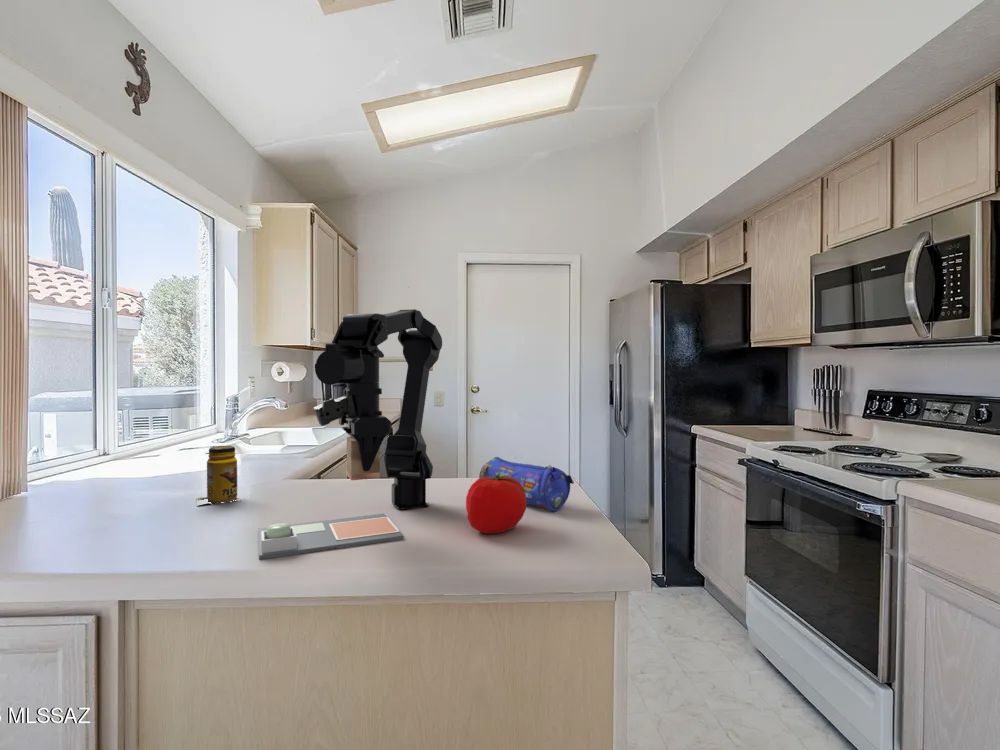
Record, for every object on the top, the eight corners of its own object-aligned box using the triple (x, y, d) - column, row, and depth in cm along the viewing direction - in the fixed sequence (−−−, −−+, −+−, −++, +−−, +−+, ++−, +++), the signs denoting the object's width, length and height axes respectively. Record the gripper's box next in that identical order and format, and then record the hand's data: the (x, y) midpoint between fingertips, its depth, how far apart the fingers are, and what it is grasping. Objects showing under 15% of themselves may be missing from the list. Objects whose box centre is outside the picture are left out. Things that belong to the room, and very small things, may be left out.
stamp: (374, 472, 99) (373, 435, 99) (379, 477, 95) (379, 439, 95) (346, 474, 97) (346, 437, 97) (351, 480, 93) (351, 440, 93)
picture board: (383, 516, 106) (383, 503, 106) (403, 538, 92) (403, 524, 92) (258, 531, 96) (258, 517, 96) (259, 559, 83) (258, 542, 83)
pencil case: (575, 508, 112) (575, 464, 112) (548, 517, 106) (549, 470, 106) (502, 490, 128) (502, 451, 128) (476, 497, 122) (476, 456, 122)
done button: (289, 533, 89) (289, 522, 89) (291, 540, 86) (291, 528, 86) (266, 536, 88) (266, 524, 88) (267, 543, 85) (267, 531, 85)
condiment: (241, 501, 117) (240, 447, 117) (197, 507, 113) (196, 451, 112) (236, 494, 123) (236, 443, 123) (195, 499, 119) (194, 446, 119)
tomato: (450, 531, 96) (450, 476, 96) (494, 516, 106) (495, 466, 106) (496, 545, 89) (497, 485, 89) (540, 527, 99) (540, 473, 99)
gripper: (311, 381, 101) (311, 462, 101) (322, 385, 84) (323, 482, 84) (370, 380, 106) (370, 458, 106) (392, 384, 89) (392, 476, 89)
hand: (363, 468), depth 96 cm, fingers closed on stamp, 5 cm apart
